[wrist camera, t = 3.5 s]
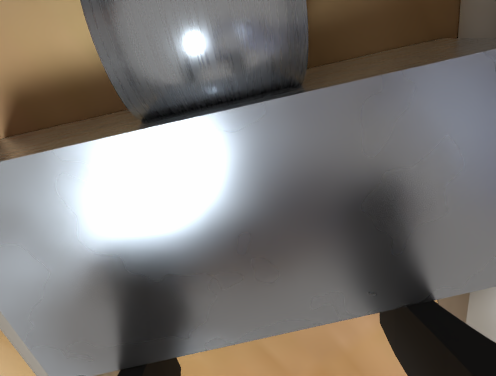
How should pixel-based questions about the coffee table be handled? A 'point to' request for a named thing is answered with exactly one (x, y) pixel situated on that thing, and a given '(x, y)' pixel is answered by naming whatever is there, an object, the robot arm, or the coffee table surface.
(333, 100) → the grey piece
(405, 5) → the coffee table surface
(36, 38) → the coffee table surface
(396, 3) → the coffee table surface
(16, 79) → the coffee table surface
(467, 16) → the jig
